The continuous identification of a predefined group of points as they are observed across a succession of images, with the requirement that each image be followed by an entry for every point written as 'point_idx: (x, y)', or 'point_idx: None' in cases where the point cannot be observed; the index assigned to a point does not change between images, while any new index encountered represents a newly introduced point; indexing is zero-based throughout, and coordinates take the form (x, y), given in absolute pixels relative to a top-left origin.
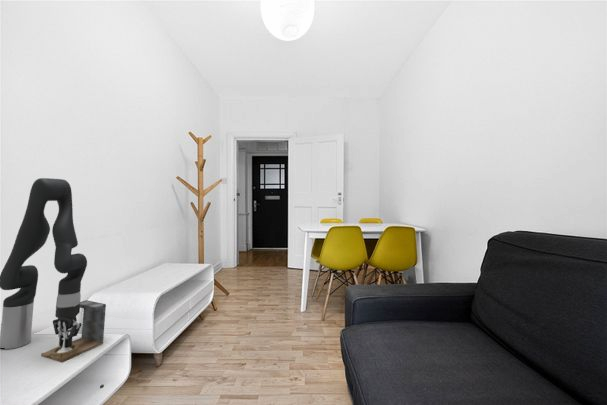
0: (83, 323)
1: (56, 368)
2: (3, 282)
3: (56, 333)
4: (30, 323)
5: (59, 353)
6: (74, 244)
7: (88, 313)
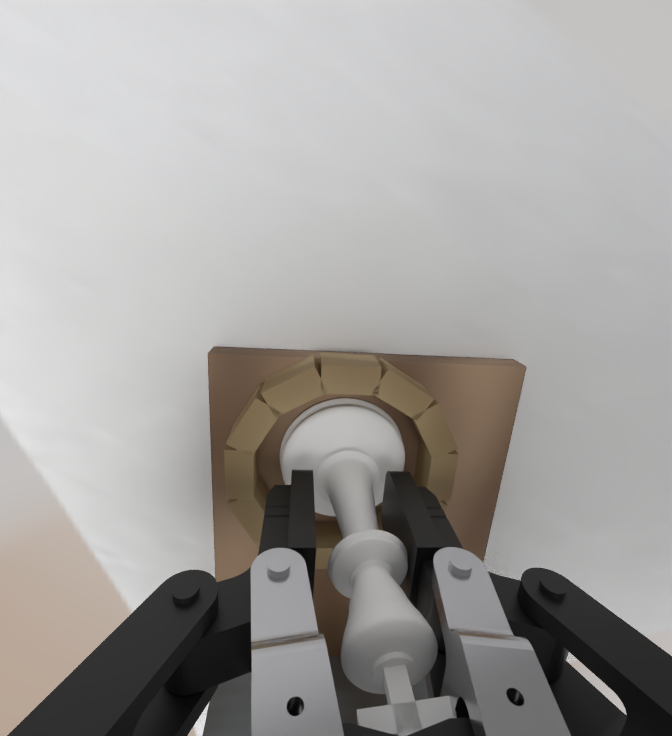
0: None
1: (146, 256)
2: None
3: (541, 585)
4: None
5: (292, 393)
6: None
7: None
